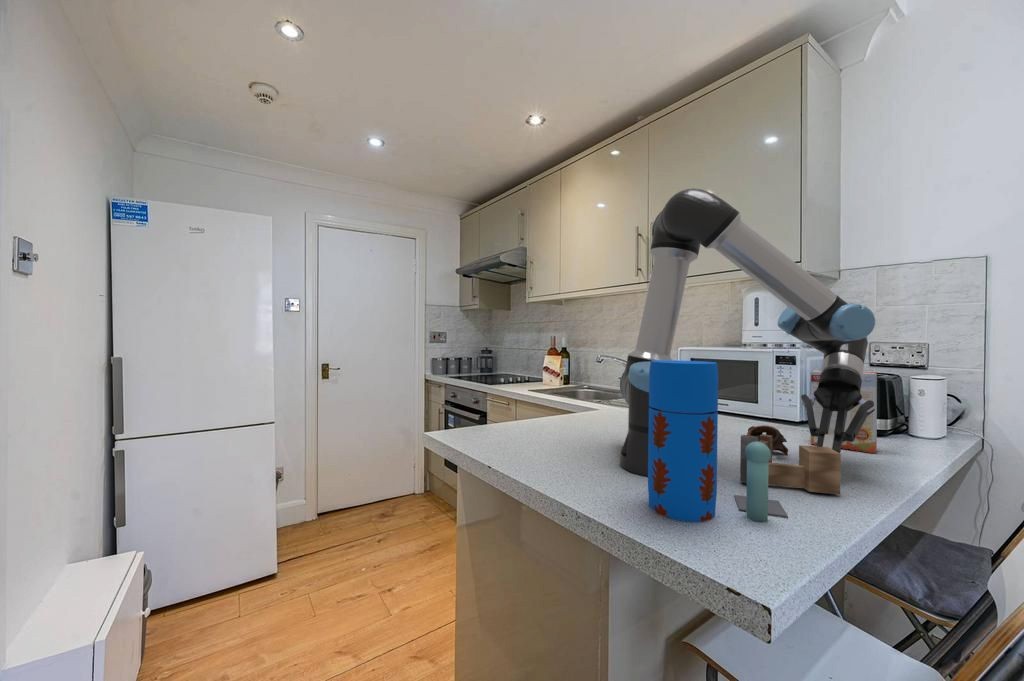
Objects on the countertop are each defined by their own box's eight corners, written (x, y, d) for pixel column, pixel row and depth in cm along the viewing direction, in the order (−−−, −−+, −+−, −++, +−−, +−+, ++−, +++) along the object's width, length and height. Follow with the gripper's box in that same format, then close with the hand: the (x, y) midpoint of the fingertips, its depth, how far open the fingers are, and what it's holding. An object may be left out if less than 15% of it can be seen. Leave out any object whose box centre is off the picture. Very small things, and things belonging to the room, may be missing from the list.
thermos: (685, 527, 63) (687, 364, 63) (634, 502, 72) (636, 360, 72) (730, 514, 68) (732, 363, 68) (677, 492, 77) (679, 360, 77)
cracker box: (876, 450, 110) (877, 372, 110) (876, 454, 106) (877, 373, 106) (812, 441, 120) (813, 369, 120) (809, 444, 115) (810, 370, 115)
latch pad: (734, 496, 76) (734, 494, 76) (778, 502, 73) (778, 500, 73) (739, 510, 69) (739, 508, 69) (788, 518, 67) (788, 516, 67)
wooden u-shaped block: (743, 485, 81) (744, 439, 80) (737, 476, 85) (737, 433, 85) (840, 494, 76) (840, 445, 76) (827, 485, 81) (828, 439, 81)
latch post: (741, 517, 67) (742, 441, 67) (748, 510, 69) (749, 438, 69) (766, 524, 64) (767, 445, 64) (772, 517, 67) (773, 442, 67)
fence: (747, 480, 85) (747, 441, 85) (761, 469, 92) (762, 434, 92) (758, 482, 84) (758, 443, 83) (772, 471, 90) (772, 435, 90)
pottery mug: (800, 460, 101) (793, 434, 99) (766, 477, 101) (758, 450, 99) (765, 436, 113) (758, 412, 111) (734, 451, 113) (727, 427, 111)
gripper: (879, 390, 91) (869, 483, 80) (808, 385, 101) (790, 467, 89) (877, 367, 88) (866, 461, 76) (803, 364, 97) (784, 447, 86)
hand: (825, 464), depth 83 cm, fingers closed
